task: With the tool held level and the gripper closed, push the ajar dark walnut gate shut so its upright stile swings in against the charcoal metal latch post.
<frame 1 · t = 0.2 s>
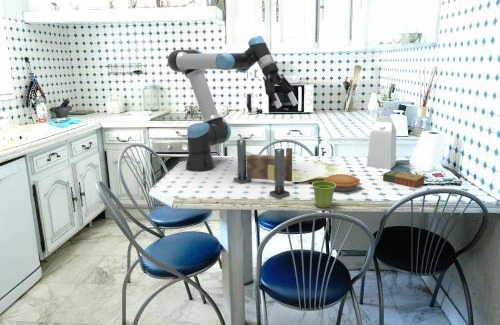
hand: (287, 106, 191), 35 cm above the table, tool tilted 35°, fingers open, 13 cm apart
pie: (341, 188, 182), on the table
gate posts: (242, 181, 194), on the table
plant pot: (323, 205, 162), on the table
milk: (381, 165, 217), on the table
carton: (402, 183, 188), on the table
gate: (269, 163, 188), point 9 cm above the table, hinge at 35.0°
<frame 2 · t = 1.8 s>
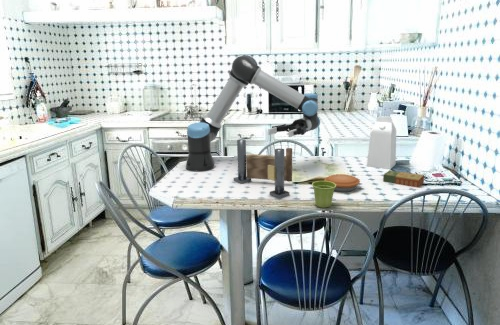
hand: (278, 133, 192), 22 cm above the table, tool horizontal, fingers open, 10 cm apart
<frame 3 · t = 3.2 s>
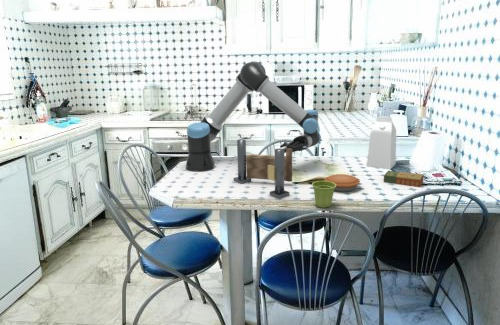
hand: (278, 152, 193), 13 cm above the table, tool horizontal, fingers closed
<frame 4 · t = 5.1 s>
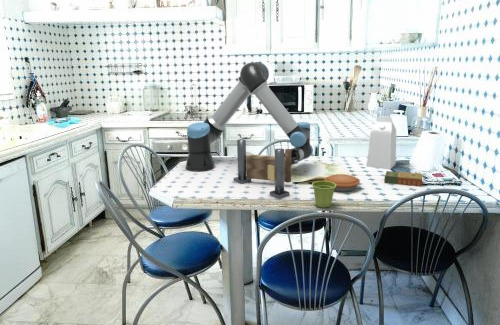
hand: (269, 166, 189), 8 cm above the table, tool horizontal, fingers closed
gate: (268, 164, 187), point 9 cm above the table, hinge at 30.9°, touching gripper
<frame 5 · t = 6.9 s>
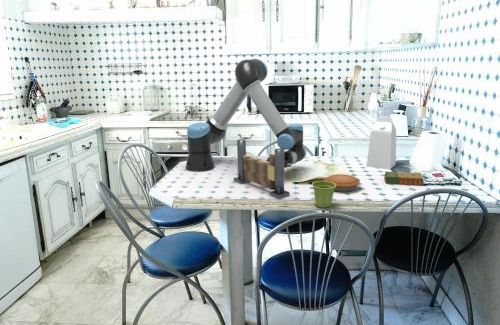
hand: (260, 170, 183), 8 cm above the table, tool horizontal, fingers closed
gate: (259, 167, 181), point 9 cm above the table, hinge at -1.0°, touching gate posts, gripper
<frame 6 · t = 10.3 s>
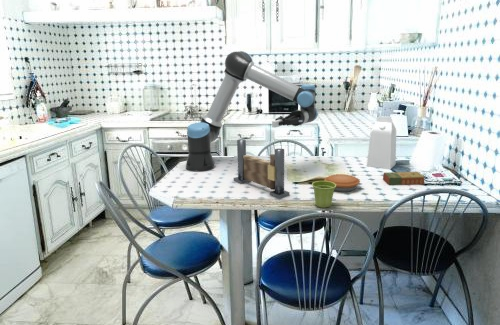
hand: (273, 124, 187), 27 cm above the table, tool horizontal, fingers closed
gate: (259, 167, 181), point 9 cm above the table, hinge at -0.2°
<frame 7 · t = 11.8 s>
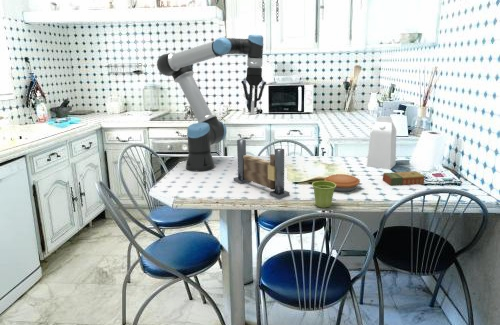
hand: (252, 113, 211), 28 cm above the table, tool pointing down, fingers closed
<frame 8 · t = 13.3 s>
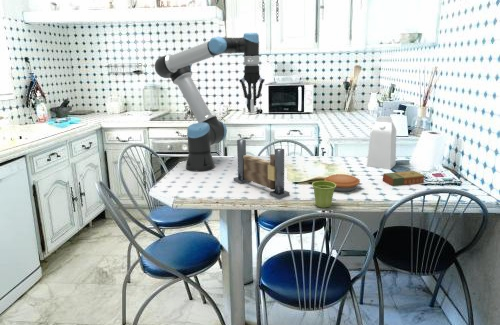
hand: (252, 111, 211), 29 cm above the table, tool pointing down, fingers closed
at the end: gate at +0° (first picture: +35°) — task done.
